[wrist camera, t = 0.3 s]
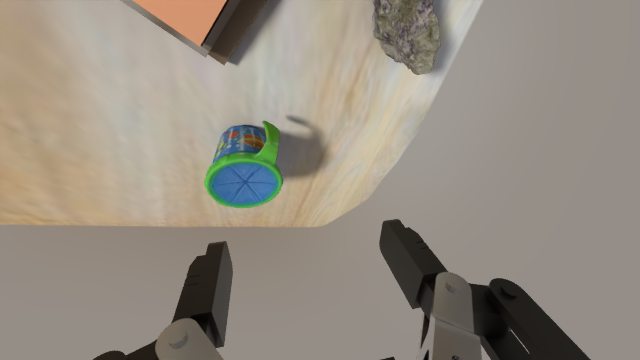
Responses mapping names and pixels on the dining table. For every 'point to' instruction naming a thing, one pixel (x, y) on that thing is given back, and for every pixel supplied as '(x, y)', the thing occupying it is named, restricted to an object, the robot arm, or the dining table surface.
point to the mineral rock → (408, 32)
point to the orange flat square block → (186, 15)
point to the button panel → (216, 27)
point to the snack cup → (245, 167)
